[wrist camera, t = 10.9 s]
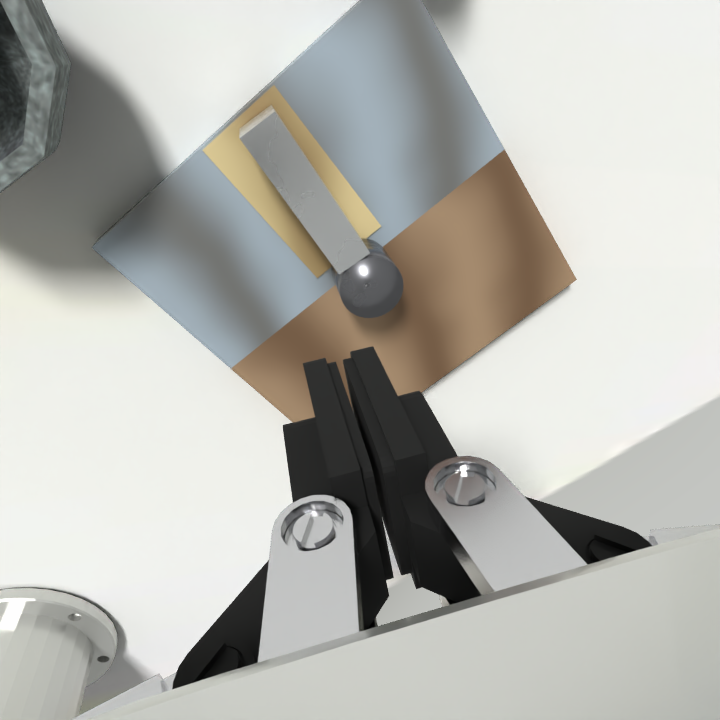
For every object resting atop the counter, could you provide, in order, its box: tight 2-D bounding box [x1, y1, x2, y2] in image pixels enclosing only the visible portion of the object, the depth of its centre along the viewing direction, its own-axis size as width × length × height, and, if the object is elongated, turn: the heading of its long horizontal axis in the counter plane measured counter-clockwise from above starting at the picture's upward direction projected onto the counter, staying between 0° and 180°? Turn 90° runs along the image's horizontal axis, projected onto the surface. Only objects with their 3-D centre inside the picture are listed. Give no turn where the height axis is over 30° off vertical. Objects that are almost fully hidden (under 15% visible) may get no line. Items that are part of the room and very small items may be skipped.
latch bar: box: [239, 105, 403, 318], centre depth 26 cm, size 11×3×3 cm, turn 32°
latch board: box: [92, 0, 577, 423], centre depth 30 cm, size 19×19×1 cm
